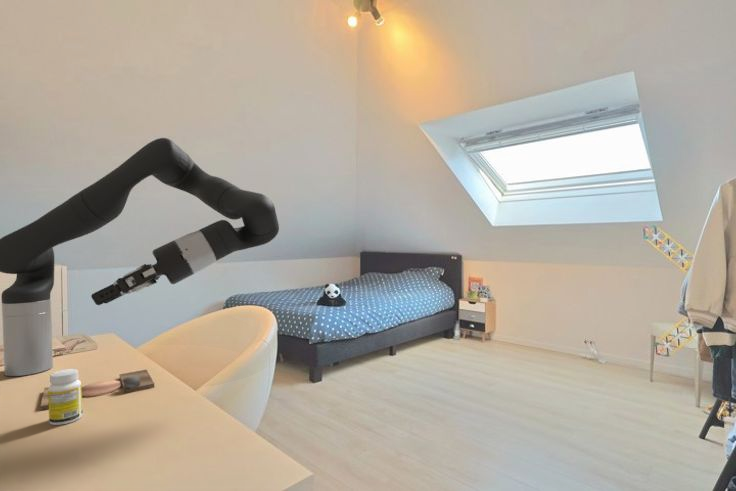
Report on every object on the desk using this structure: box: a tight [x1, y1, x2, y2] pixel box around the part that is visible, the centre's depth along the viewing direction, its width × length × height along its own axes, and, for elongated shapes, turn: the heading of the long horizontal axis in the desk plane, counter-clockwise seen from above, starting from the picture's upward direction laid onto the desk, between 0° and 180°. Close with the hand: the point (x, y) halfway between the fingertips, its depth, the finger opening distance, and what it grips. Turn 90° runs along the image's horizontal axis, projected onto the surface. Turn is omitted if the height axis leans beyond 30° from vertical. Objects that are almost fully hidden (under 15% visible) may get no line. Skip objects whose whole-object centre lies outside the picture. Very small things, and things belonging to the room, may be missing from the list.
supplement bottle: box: [48, 368, 84, 426], centre depth 72 cm, size 5×5×8 cm
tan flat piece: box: [39, 369, 155, 411], centre depth 87 cm, size 12×19×2 cm, turn 125°
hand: (98, 299), depth 73 cm, fingers open, 8 cm apart
